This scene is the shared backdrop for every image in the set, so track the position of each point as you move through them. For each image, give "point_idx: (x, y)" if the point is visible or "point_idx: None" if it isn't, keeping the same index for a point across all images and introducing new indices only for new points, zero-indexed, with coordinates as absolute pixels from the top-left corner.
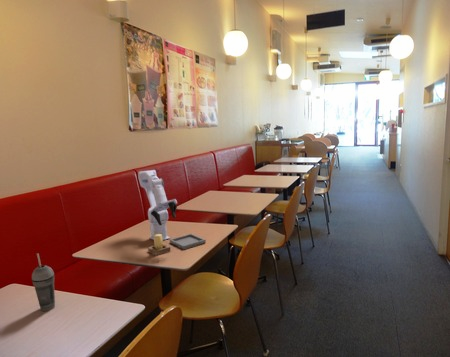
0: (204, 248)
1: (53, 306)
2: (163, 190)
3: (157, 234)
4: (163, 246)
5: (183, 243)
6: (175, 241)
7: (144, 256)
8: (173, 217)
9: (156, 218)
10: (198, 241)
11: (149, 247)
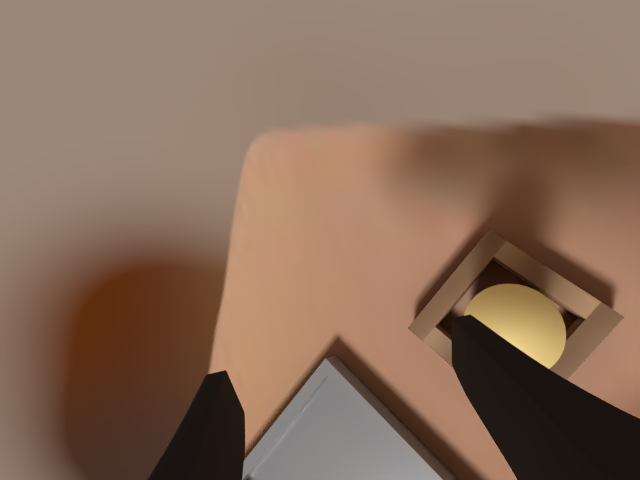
0: None
1: None
2: None
3: None
4: None
5: (364, 464)
6: (422, 474)
7: (575, 207)
8: (229, 385)
9: (541, 377)
10: (254, 452)
11: (602, 314)
